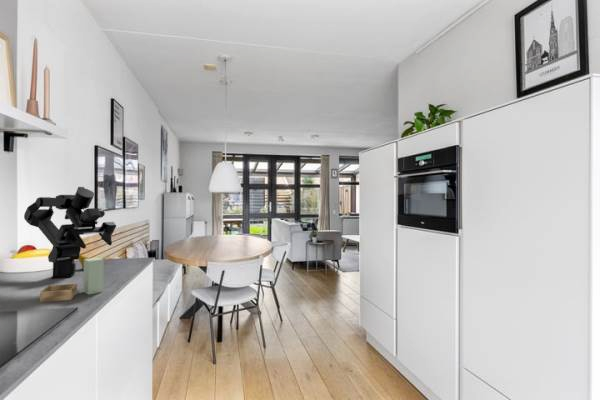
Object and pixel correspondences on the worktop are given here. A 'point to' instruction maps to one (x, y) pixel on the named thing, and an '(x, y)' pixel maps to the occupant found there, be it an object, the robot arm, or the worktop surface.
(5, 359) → the worktop surface
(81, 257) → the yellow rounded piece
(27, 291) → the worktop surface
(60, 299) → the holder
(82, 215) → the robot arm
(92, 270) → the post
